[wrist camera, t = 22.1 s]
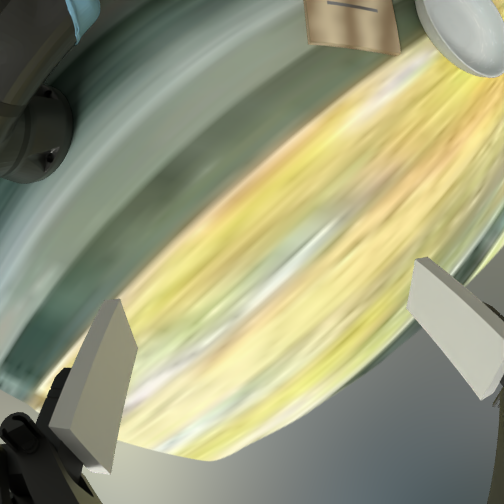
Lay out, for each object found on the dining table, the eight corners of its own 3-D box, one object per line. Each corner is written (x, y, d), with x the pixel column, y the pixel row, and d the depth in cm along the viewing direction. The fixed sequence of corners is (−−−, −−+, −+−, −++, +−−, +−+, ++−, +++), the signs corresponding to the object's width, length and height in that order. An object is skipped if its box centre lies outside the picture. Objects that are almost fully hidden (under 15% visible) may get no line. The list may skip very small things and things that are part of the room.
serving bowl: (377, 2, 32) (397, -15, 26) (435, -32, 29) (455, -45, 22) (456, 102, 38) (483, 99, 32) (500, 53, 34) (522, 49, 28)
